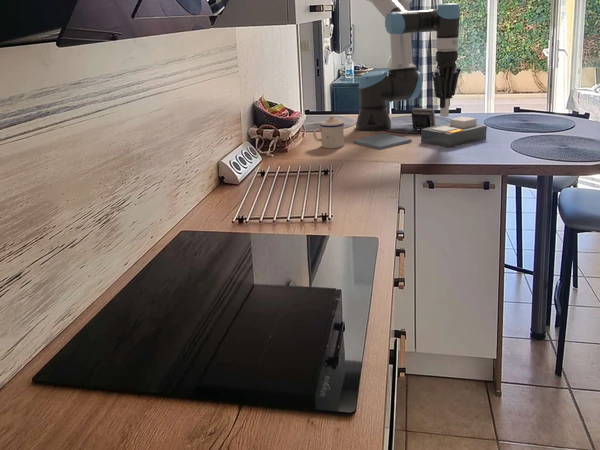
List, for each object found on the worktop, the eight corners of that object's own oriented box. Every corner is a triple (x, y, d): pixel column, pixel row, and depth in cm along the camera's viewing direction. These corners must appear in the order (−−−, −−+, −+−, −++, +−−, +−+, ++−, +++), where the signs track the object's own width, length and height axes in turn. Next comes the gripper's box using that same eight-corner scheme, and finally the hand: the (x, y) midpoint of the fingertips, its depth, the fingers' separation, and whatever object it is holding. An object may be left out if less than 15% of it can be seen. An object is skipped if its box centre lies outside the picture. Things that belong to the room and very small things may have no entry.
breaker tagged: (431, 136, 217) (431, 128, 216) (444, 133, 220) (444, 125, 219) (444, 138, 211) (445, 131, 210) (457, 135, 215) (458, 128, 214)
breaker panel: (421, 142, 220) (421, 128, 218) (457, 133, 230) (458, 120, 228) (448, 148, 208) (449, 133, 207) (486, 138, 218) (486, 124, 217)
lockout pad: (352, 142, 226) (352, 140, 225) (384, 136, 234) (383, 133, 233) (379, 149, 213) (379, 146, 213) (411, 141, 221) (411, 139, 221)
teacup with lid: (341, 142, 227) (340, 112, 223) (347, 147, 219) (346, 116, 215) (311, 145, 226) (310, 115, 221) (316, 150, 217) (315, 119, 213)
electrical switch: (436, 129, 239) (435, 107, 235) (431, 133, 235) (431, 111, 231) (414, 128, 244) (414, 106, 240) (409, 132, 240) (409, 110, 236)
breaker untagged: (450, 126, 221) (450, 119, 220) (462, 123, 224) (462, 116, 223) (463, 128, 215) (464, 121, 214) (476, 125, 219) (476, 118, 218)
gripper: (441, 52, 198) (439, 120, 207) (467, 48, 205) (464, 114, 214) (426, 51, 204) (424, 117, 213) (451, 47, 211) (449, 112, 220)
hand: (444, 116), depth 213 cm, fingers closed
